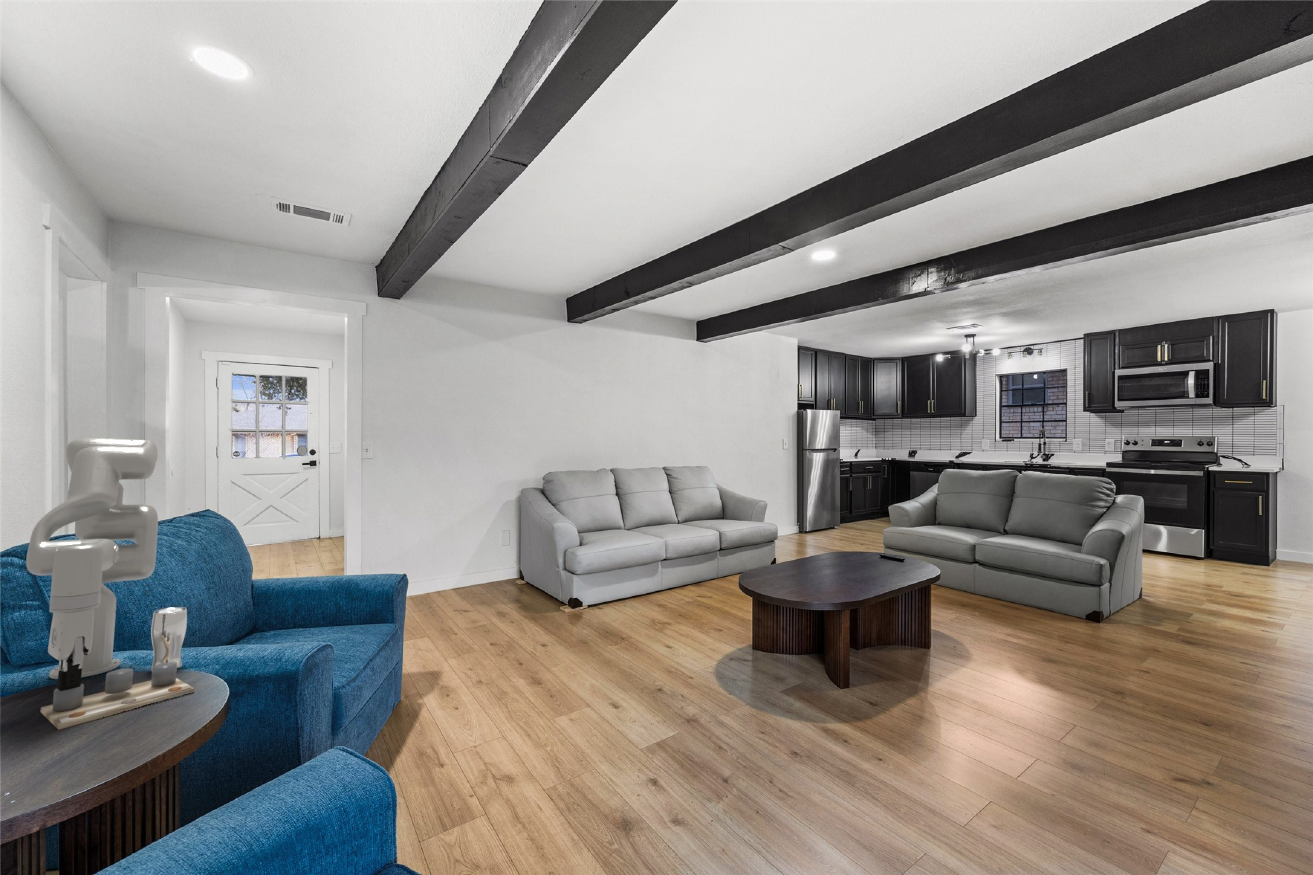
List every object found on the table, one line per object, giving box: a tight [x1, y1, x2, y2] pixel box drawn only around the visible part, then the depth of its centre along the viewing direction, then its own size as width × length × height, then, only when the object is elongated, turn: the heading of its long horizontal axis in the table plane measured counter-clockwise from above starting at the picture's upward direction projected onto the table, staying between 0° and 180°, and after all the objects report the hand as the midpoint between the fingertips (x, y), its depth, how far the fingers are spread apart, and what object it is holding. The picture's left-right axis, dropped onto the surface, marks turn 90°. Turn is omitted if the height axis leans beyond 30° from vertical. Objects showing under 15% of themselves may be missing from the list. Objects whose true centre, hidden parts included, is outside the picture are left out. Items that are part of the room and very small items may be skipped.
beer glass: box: [150, 606, 188, 673], centre depth 144 cm, size 7×7×15 cm
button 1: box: [52, 683, 85, 711], centre depth 118 cm, size 4×4×4 cm
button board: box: [40, 677, 195, 731], centre depth 123 cm, size 14×22×2 cm, turn 148°
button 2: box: [151, 662, 178, 686], centre depth 131 cm, size 4×4×4 cm
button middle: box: [104, 667, 134, 694], centre depth 124 cm, size 4×4×4 cm
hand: (68, 687), depth 118 cm, fingers closed
